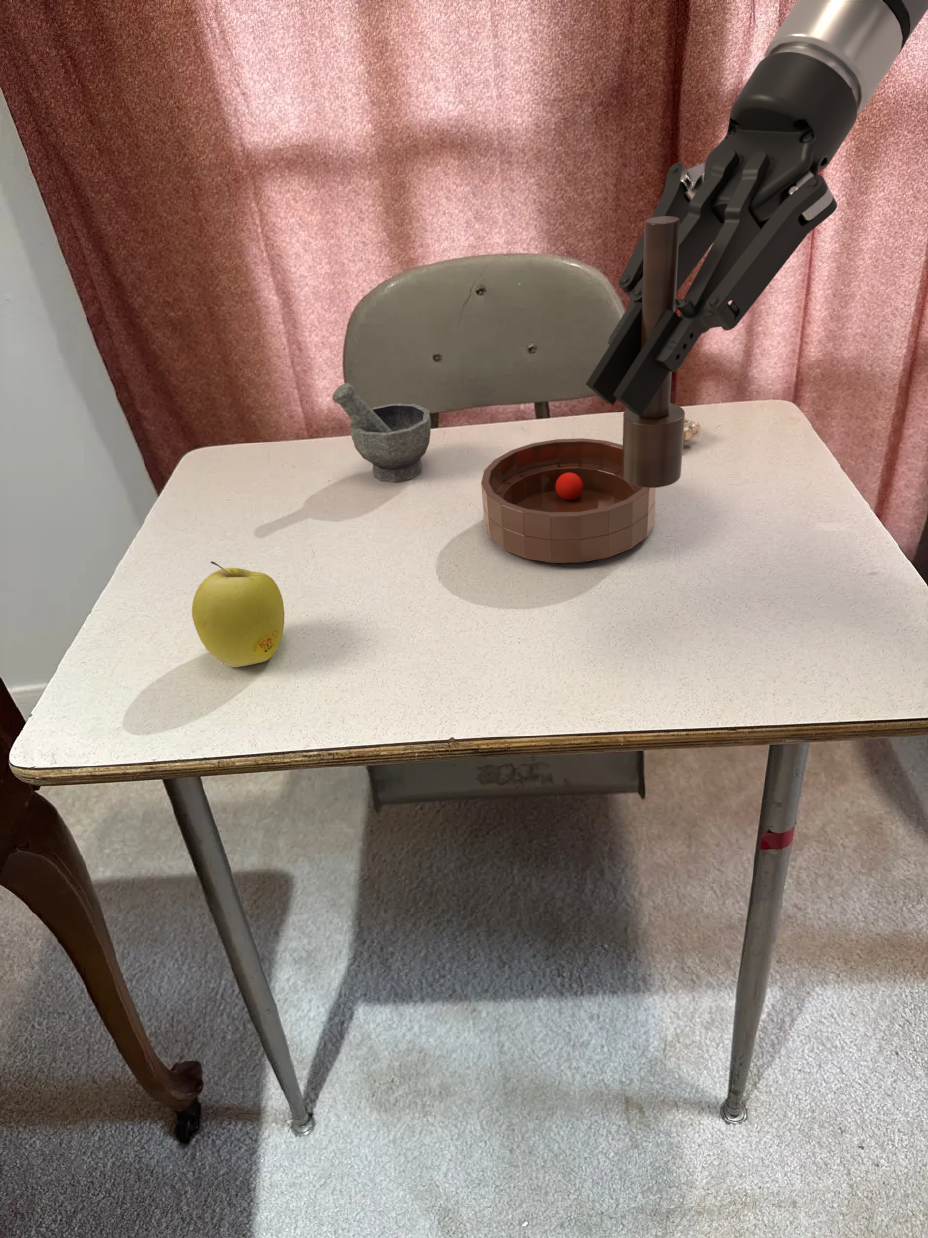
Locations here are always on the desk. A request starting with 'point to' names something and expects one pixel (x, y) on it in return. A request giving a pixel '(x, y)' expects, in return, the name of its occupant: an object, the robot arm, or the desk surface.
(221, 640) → the apple
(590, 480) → the bowl
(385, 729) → the desk surface
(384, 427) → the mortar and pestle
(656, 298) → the brown pestle
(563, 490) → the red ball
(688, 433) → the ornament
